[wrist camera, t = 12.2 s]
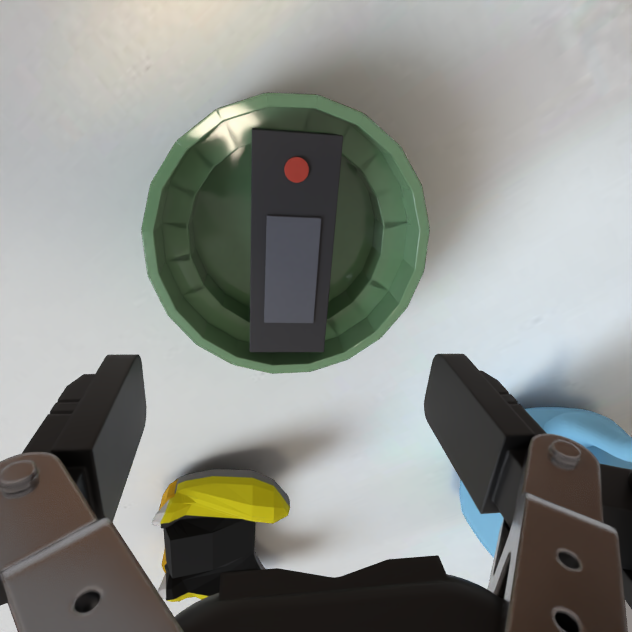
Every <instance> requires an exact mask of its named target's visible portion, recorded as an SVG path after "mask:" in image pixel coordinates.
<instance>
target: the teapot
mask: <svg viewBox="0 0 632 632" xmlns="http://www.w3.org/2000/svg"><path fill="white" fill-rule="evenodd" d="M525 410H526V411H527V412H528V414H529V415H530V416H531V417H532V418H533V419H534V420H535V421H536V422H537V423H538V424H539V425H540V426H541V428H542V429H543V430H544V431H545V432H546V433H547V434H555V435H560V436H563V437H566V438H569V439H571V440H573V441H576V442H577V443H579V444H581V445H583V446H584V447H585V448H587V449H588V450H589V451H590V452H592V454H593V455H594V456H595V457H596V458H597V460H598V462H599V463H600V464H605V465H610V466H615V467H621V468H626V469H631V470H632V438H631V437H630V436H629V435H628V434H627V433H626V432H625V431H624V430H623V429H622V428H620V427H619V426H618V425H617V424H616V423H615V422H614V421H612V420H611V419H609V418H607V417H605V416H602V415H600V414H598V413H595V412H592V411H588V410H584V409H577V408H563V407H537V408H527V409H525ZM459 491H460V502H461V508H462V512H463V515H464V517H465V518H466V520H467V522H468V524H469V525H470V527H471V528H472V530H473V532H474V533H475V534H476V536H477V537H478V539H479V540H480V542H481V543H482V544H483V546H484V547H485V548H486V549H487V551H488V552H489V553H490V554H491V555H492V556H493V558H494V555H495V551H496V546H497V541H498V536H499V531H500V527H501V525H502V522H503V519H504V518H503V516H502V515H501V513H488V514H480V512H479V510H478V508H477V507H476V505H475V503H474V502H473V500H472V498H471V496H470V495H469V493H468V491H467V489H466V488H465V486H464V484H463V482H462V481H461V480H460V490H459Z"/></svg>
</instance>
